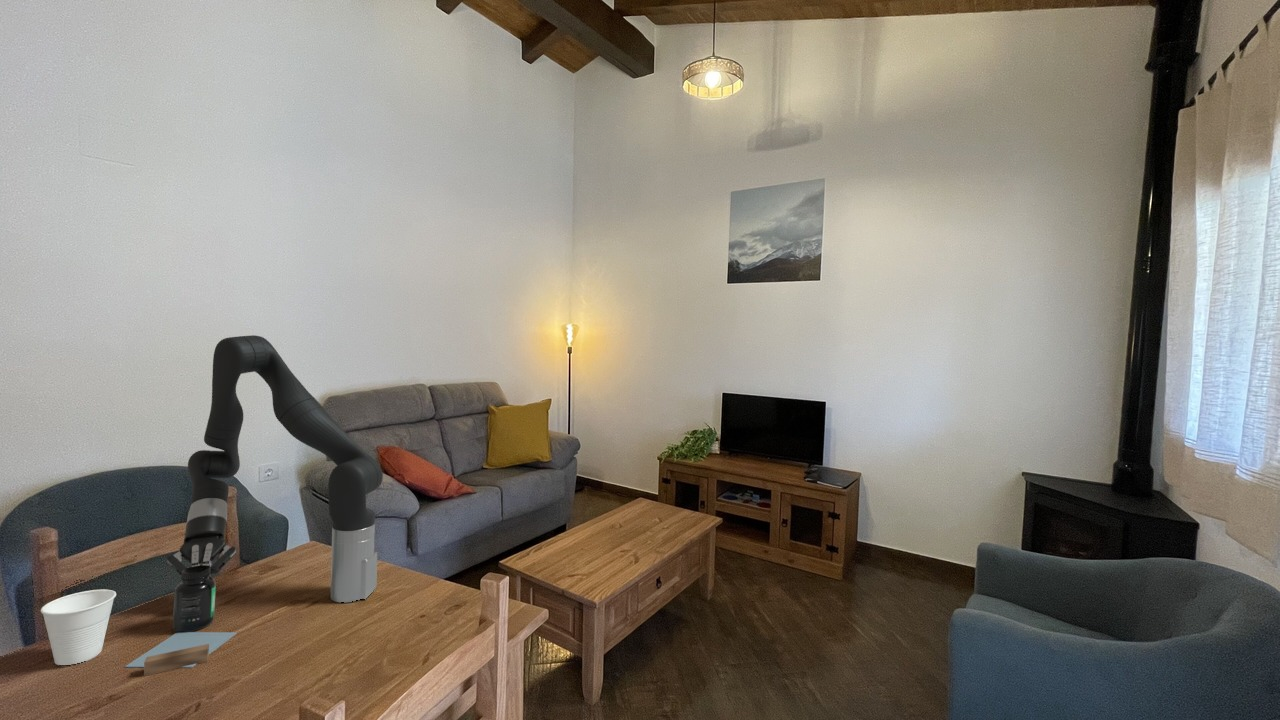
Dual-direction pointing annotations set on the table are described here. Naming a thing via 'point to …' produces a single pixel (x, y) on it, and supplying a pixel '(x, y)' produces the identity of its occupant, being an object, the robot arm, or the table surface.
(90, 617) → the cup
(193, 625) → the supplement bottle
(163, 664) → the rail
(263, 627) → the table surface
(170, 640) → the mat
